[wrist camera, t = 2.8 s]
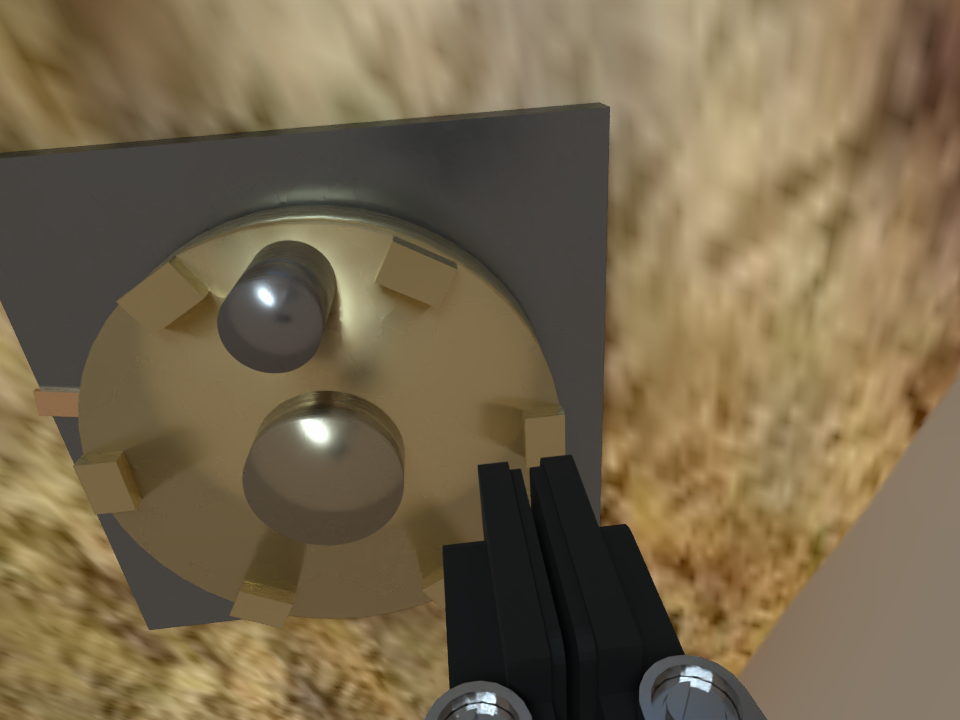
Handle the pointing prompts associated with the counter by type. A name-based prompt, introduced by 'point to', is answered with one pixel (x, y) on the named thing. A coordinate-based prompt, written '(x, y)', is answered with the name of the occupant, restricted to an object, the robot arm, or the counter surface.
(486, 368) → the notched gold disc
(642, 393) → the counter surface
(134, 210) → the cap plate
